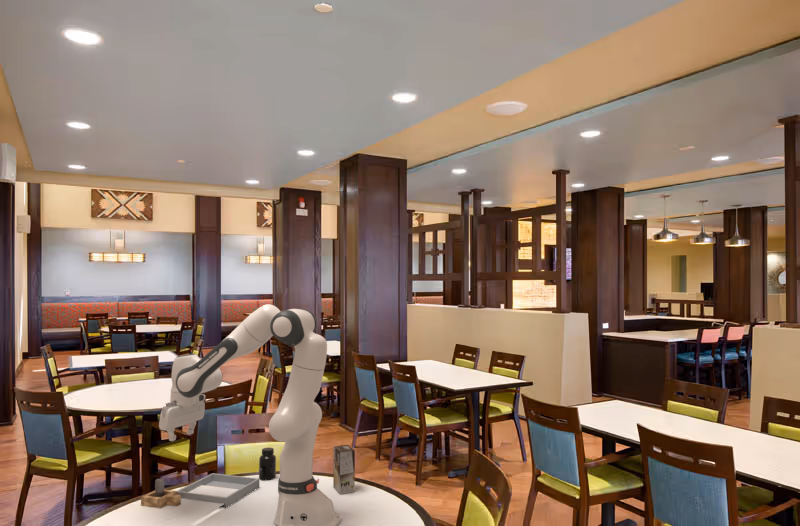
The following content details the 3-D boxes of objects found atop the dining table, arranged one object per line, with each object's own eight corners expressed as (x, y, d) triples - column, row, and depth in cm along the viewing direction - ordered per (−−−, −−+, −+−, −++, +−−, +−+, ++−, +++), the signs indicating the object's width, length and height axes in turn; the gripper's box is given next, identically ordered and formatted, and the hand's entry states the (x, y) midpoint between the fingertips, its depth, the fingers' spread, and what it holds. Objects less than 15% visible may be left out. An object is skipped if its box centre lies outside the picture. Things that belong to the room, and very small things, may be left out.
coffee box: (355, 492, 213) (355, 450, 214) (339, 494, 211) (340, 452, 212) (347, 484, 222) (347, 444, 223) (332, 487, 219) (332, 446, 220)
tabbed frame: (186, 500, 201) (186, 492, 201) (170, 509, 192) (170, 500, 193) (158, 496, 204) (158, 488, 205) (140, 505, 196) (141, 496, 196)
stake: (178, 503, 202) (178, 477, 202) (160, 512, 193) (161, 485, 194) (158, 500, 205) (158, 474, 205) (139, 509, 196) (140, 482, 197)
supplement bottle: (255, 479, 228) (256, 450, 228) (264, 474, 234) (264, 446, 235) (270, 481, 226) (270, 451, 226) (278, 476, 232) (279, 447, 233)
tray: (259, 487, 218) (259, 478, 219) (226, 508, 198) (226, 498, 198) (212, 481, 225) (212, 473, 225) (175, 501, 204) (175, 491, 204)
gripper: (170, 404, 188) (168, 445, 188) (208, 394, 208) (206, 431, 207) (155, 403, 190) (153, 443, 190) (194, 393, 210) (192, 429, 209)
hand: (181, 437), depth 198 cm, fingers open, 8 cm apart
